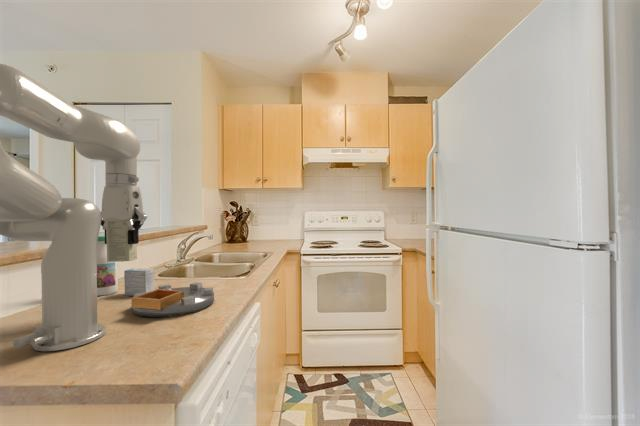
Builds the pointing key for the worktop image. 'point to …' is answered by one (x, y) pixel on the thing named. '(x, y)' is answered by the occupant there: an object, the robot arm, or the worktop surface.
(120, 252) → the skincare box
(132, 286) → the medicine box
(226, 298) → the worktop surface
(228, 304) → the worktop surface
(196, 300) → the round grey platter
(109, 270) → the milk bottle
